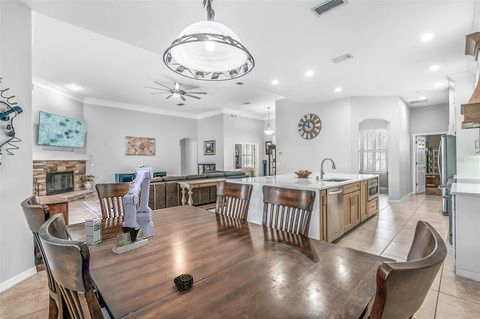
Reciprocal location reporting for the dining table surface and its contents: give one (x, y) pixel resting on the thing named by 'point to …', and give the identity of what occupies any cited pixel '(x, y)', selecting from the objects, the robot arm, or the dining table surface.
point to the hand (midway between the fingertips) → (130, 240)
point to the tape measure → (184, 281)
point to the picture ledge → (130, 246)
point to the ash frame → (128, 238)
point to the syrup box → (93, 230)
